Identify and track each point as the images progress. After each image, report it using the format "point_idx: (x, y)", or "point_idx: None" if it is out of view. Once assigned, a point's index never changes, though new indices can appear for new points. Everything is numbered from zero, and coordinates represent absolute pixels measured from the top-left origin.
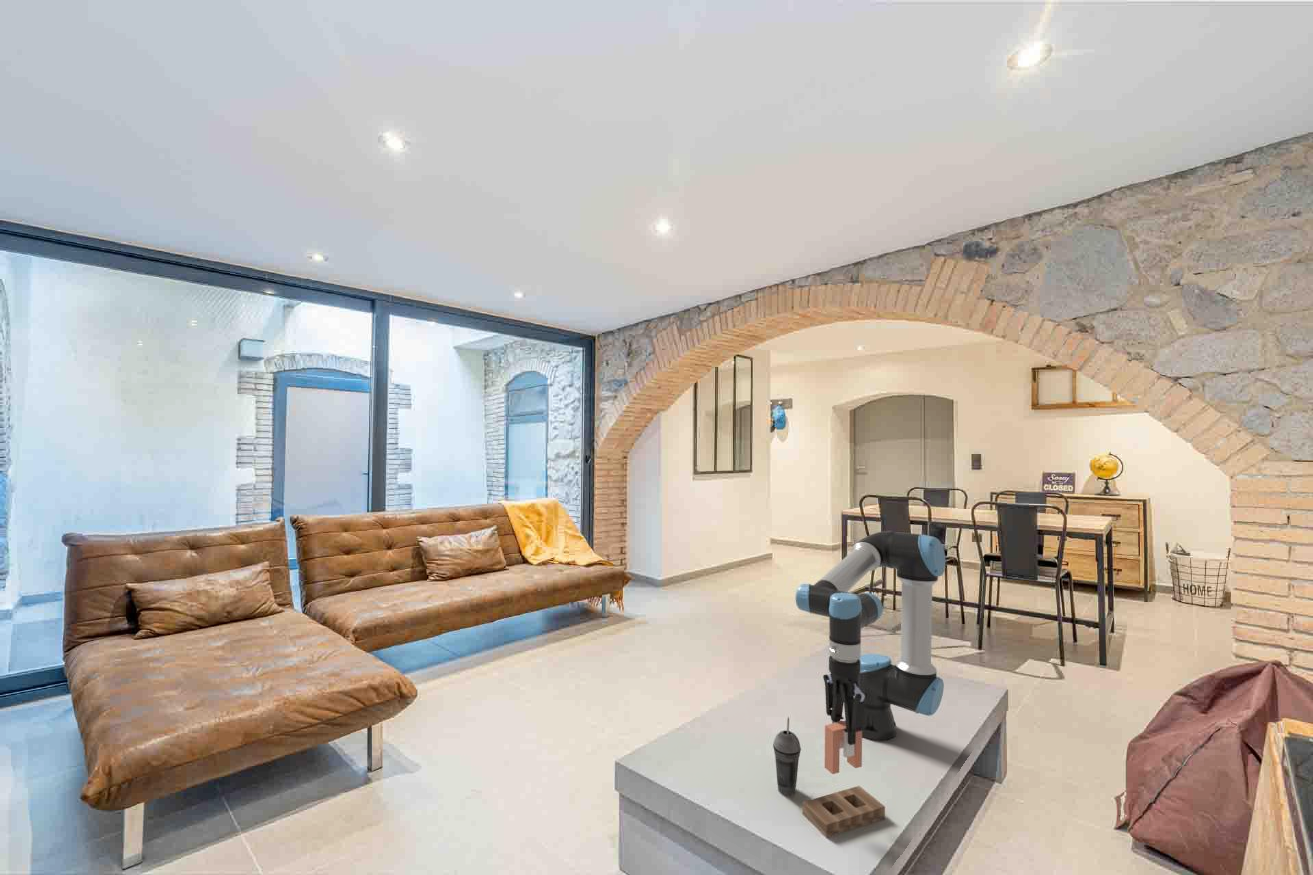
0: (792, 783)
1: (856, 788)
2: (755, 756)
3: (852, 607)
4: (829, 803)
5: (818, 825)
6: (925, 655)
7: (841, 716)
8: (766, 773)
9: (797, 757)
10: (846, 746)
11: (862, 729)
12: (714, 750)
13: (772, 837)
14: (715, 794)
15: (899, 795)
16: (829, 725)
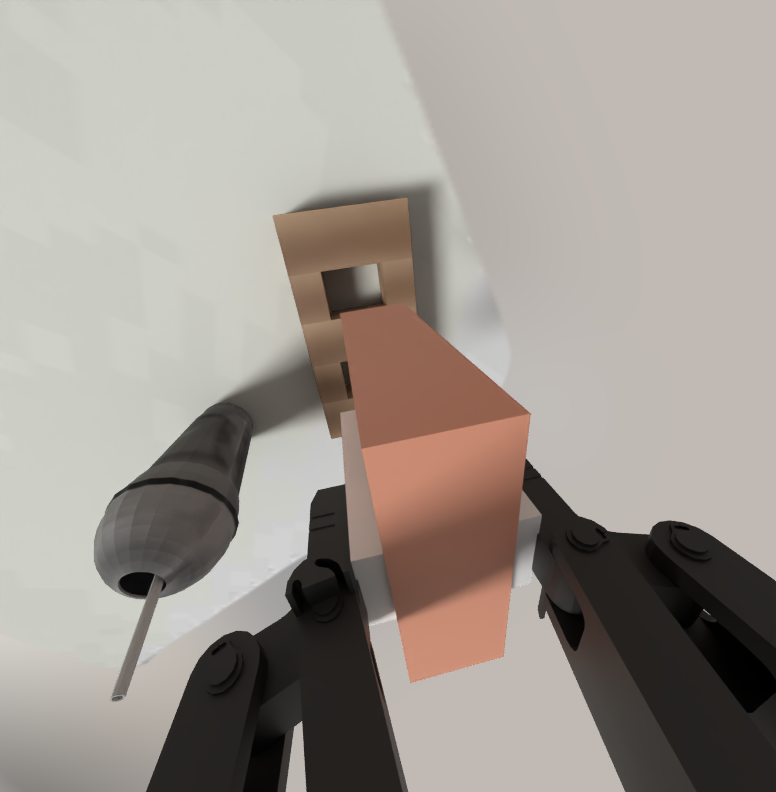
0: (247, 438)
1: (289, 239)
2: (27, 452)
3: None
4: (341, 367)
5: None
6: None
7: (361, 622)
8: (137, 448)
9: (226, 483)
10: None
11: (709, 536)
12: (14, 543)
13: None
14: (238, 557)
15: (285, 2)
16: (425, 663)
